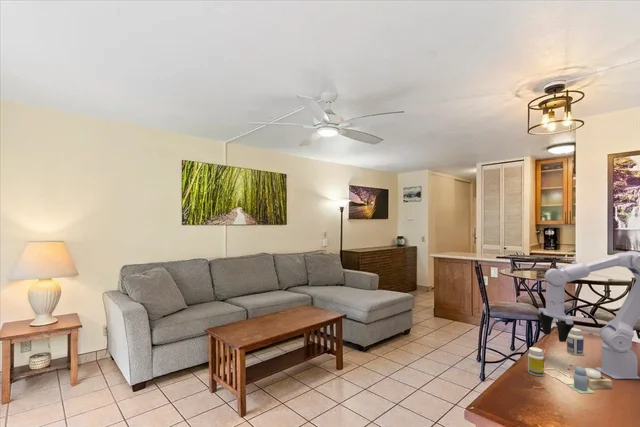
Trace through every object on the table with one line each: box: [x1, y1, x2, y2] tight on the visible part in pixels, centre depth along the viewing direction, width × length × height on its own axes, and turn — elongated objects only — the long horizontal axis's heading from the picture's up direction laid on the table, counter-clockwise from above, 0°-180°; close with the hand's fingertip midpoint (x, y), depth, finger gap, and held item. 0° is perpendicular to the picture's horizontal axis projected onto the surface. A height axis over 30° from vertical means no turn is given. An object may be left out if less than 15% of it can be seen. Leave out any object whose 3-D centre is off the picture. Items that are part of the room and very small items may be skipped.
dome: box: [583, 367, 602, 379], centre depth 111 cm, size 4×4×3 cm
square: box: [555, 376, 574, 385], centre depth 112 cm, size 5×5×1 cm
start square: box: [544, 367, 571, 379], centre depth 118 cm, size 6×6×1 cm
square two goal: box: [567, 384, 596, 394], centre depth 107 cm, size 5×5×1 cm
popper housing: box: [572, 370, 613, 390], centre depth 111 cm, size 7×7×3 cm
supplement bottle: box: [527, 346, 545, 377], centre depth 117 cm, size 5×5×8 cm
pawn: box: [573, 366, 588, 391], centre depth 107 cm, size 3×3×7 cm
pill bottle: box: [566, 327, 585, 356], centre depth 136 cm, size 5×5×10 cm
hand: (554, 337), depth 125 cm, fingers open, 7 cm apart
